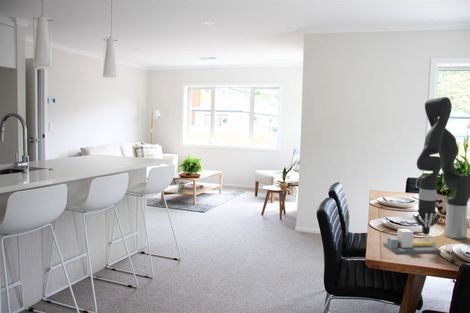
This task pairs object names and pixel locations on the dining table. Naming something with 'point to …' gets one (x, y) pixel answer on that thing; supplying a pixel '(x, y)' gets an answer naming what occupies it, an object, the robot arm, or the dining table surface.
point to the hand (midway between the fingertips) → (425, 234)
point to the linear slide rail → (416, 248)
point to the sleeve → (405, 237)
